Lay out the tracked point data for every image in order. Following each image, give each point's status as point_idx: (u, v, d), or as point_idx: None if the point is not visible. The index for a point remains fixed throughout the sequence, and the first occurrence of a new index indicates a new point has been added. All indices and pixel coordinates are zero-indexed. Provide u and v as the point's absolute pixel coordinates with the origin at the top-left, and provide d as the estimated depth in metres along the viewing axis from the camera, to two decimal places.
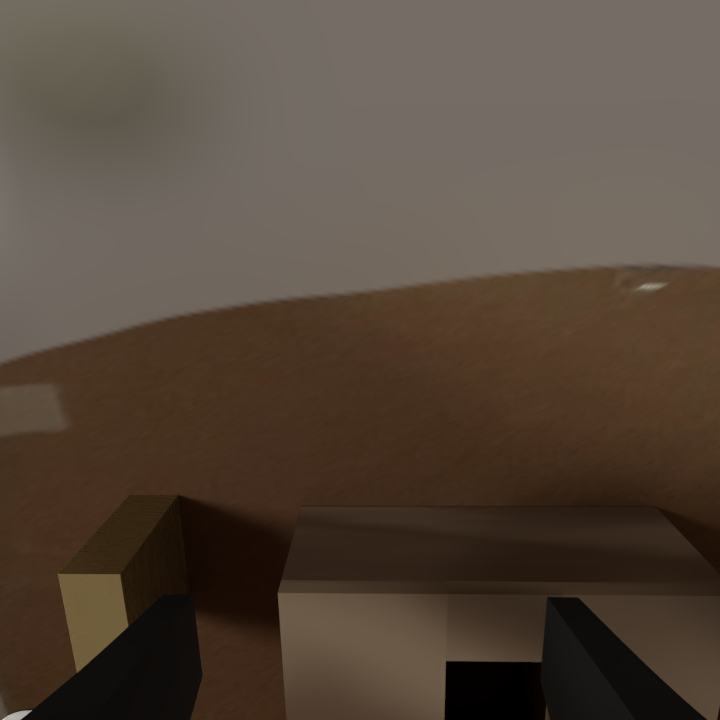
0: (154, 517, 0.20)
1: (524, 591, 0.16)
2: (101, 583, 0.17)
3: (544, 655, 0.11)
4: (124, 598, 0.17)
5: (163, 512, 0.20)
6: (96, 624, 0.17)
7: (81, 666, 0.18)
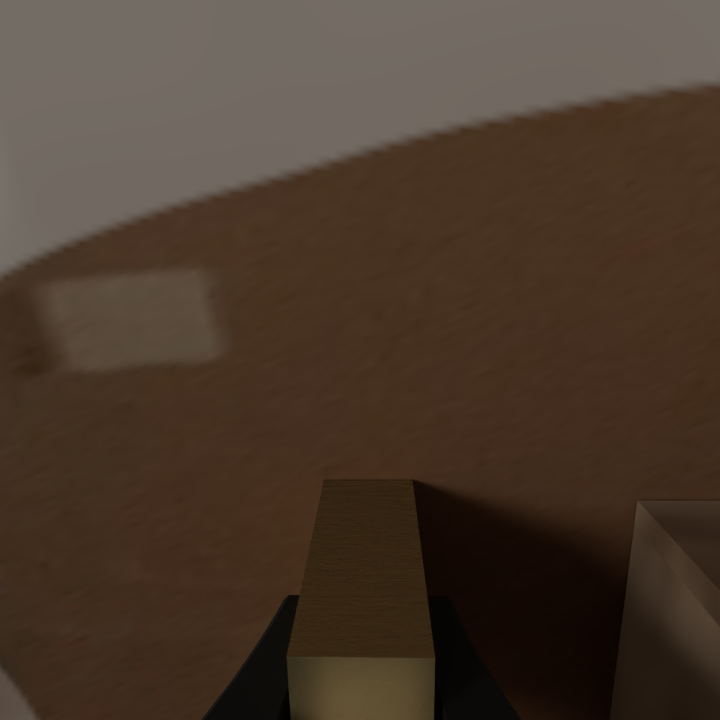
0: (403, 522, 0.10)
1: None
2: (387, 679, 0.07)
3: None
4: (433, 709, 0.07)
5: (413, 512, 0.11)
6: None
7: None
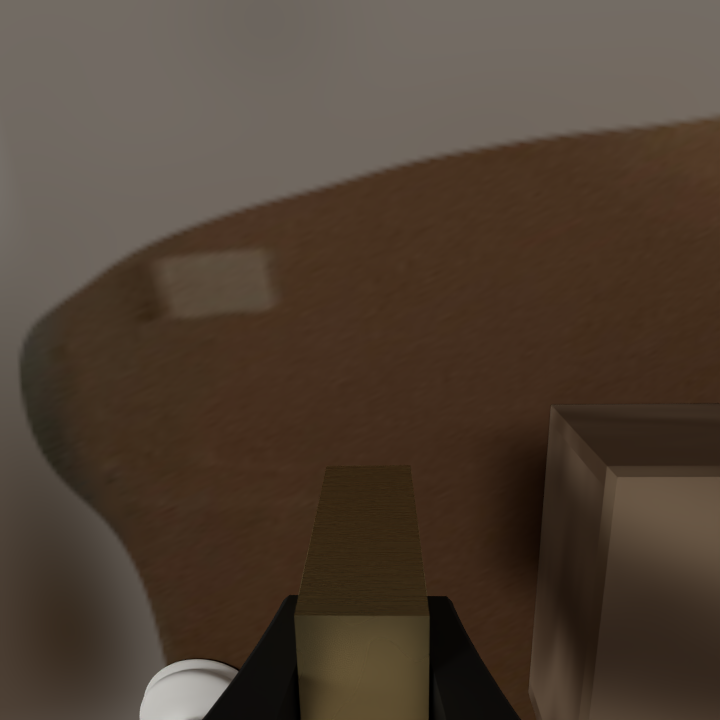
0: (401, 502, 0.11)
1: None
2: (386, 636, 0.08)
3: None
4: (428, 664, 0.08)
5: (411, 493, 0.11)
6: (361, 719, 0.08)
7: None
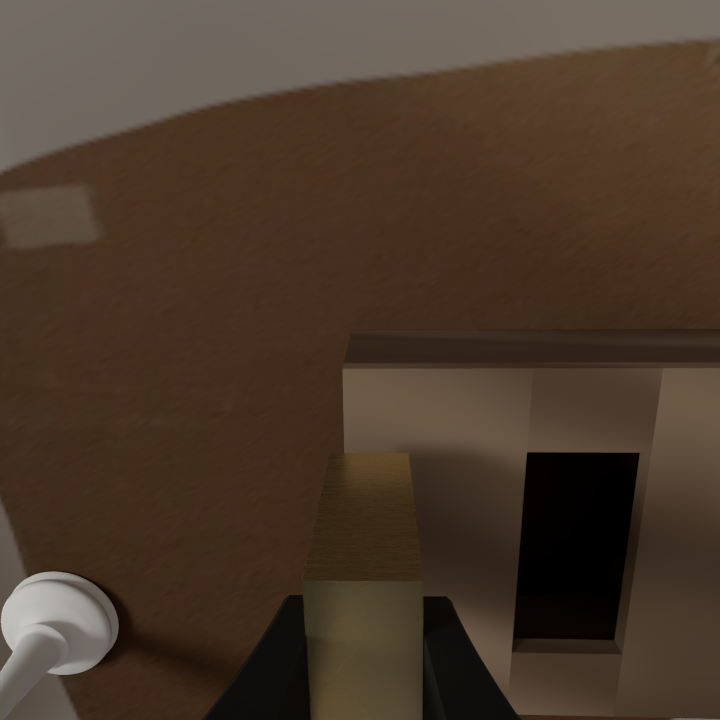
0: (399, 484, 0.12)
1: (618, 367, 0.15)
2: (384, 599, 0.09)
3: None
4: (422, 626, 0.09)
5: (408, 477, 0.12)
6: (362, 676, 0.09)
7: None
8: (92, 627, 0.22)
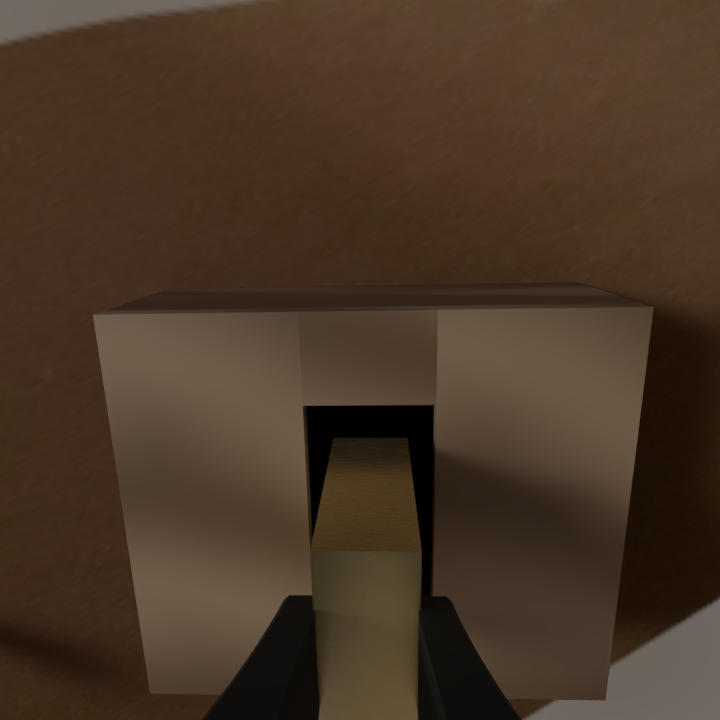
0: (399, 467, 0.13)
1: (392, 310, 0.13)
2: (386, 568, 0.10)
3: None
4: (420, 593, 0.10)
5: (407, 460, 0.13)
6: (365, 639, 0.10)
7: (327, 708, 0.10)
8: None
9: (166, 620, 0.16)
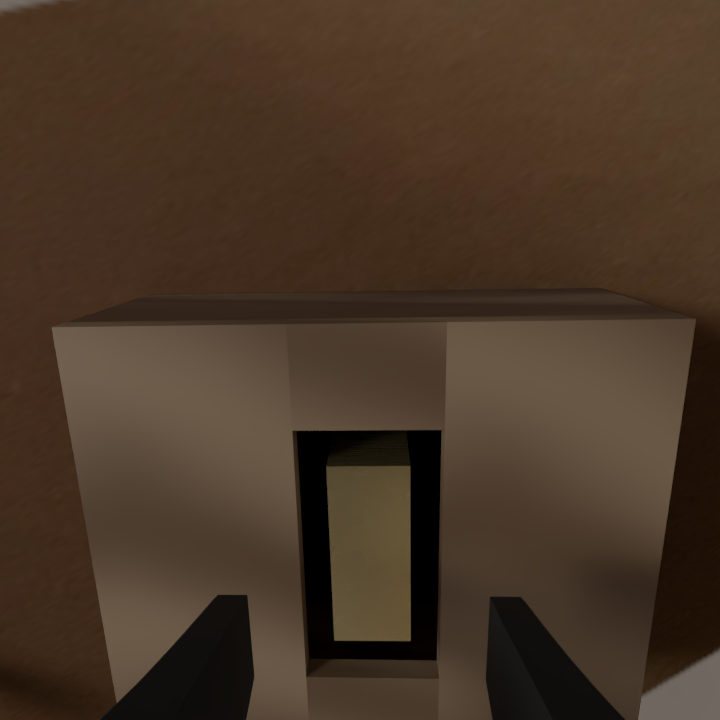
0: None
1: (394, 322, 0.12)
2: (383, 480, 0.13)
3: (488, 654, 0.11)
4: None
5: None
6: (368, 537, 0.13)
7: (339, 594, 0.14)
8: None
9: (140, 667, 0.14)
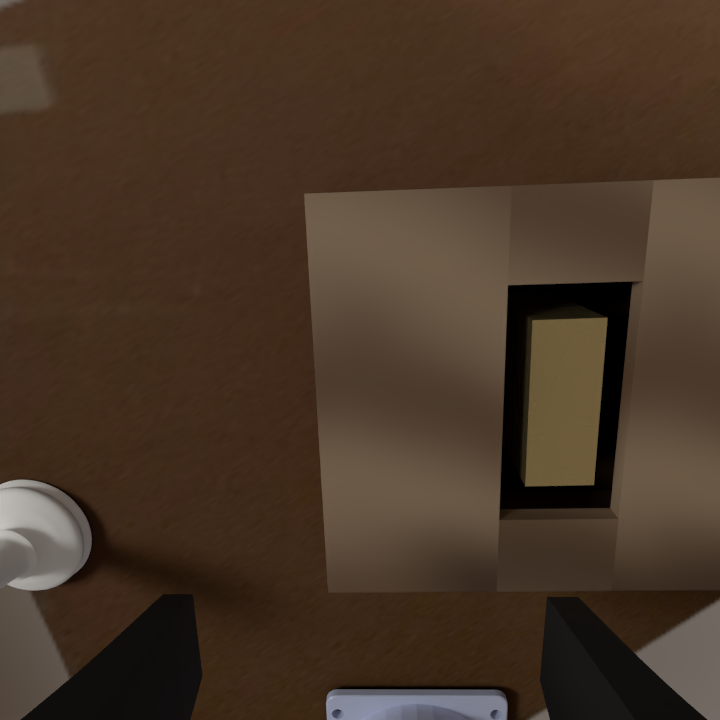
0: (557, 299, 0.17)
1: (604, 183, 0.13)
2: (582, 331, 0.14)
3: (544, 655, 0.11)
4: (603, 350, 0.15)
5: (561, 297, 0.18)
6: (564, 386, 0.15)
7: (533, 442, 0.15)
8: (62, 535, 0.21)
9: (350, 515, 0.16)
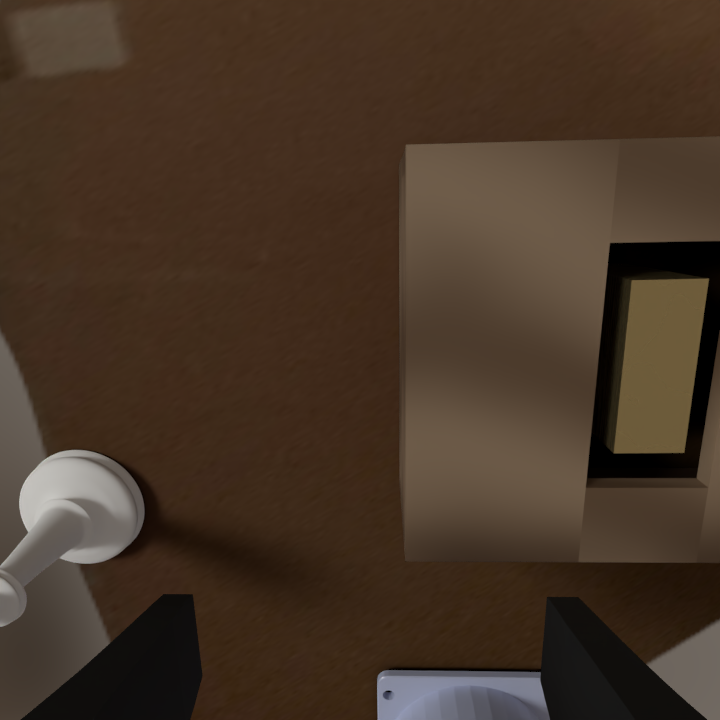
0: (639, 267, 0.17)
1: (714, 138, 0.13)
2: (682, 292, 0.14)
3: (544, 655, 0.11)
4: (702, 313, 0.14)
5: (641, 266, 0.18)
6: (660, 349, 0.15)
7: (625, 407, 0.15)
8: (117, 507, 0.21)
9: (433, 480, 0.16)
